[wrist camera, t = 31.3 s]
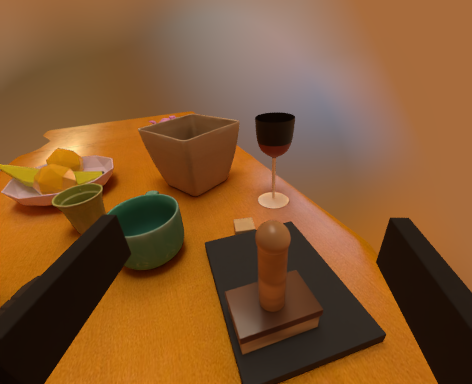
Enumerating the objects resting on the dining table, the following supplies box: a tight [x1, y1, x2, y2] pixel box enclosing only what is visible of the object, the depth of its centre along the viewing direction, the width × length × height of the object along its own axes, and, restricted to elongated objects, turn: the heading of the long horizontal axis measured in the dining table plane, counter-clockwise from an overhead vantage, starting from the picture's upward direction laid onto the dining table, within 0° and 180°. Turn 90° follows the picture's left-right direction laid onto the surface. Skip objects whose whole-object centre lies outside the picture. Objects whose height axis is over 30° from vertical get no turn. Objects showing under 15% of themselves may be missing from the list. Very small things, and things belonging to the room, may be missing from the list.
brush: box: [225, 220, 323, 354], centre depth 28 cm, size 10×6×16 cm, turn 107°
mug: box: [106, 191, 184, 270], centre depth 45 cm, size 17×13×10 cm
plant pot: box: [51, 183, 106, 234], centre depth 52 cm, size 9×9×9 cm
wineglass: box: [255, 113, 295, 208], centre depth 54 cm, size 8×9×20 cm
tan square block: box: [233, 217, 256, 235], centre depth 49 cm, size 4×4×2 cm
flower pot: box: [138, 114, 239, 196], centre depth 66 cm, size 19×19×17 cm
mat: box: [205, 222, 386, 384], centre depth 37 cm, size 24×18×2 cm
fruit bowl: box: [0, 148, 113, 206], centre depth 67 cm, size 28×27×11 cm
